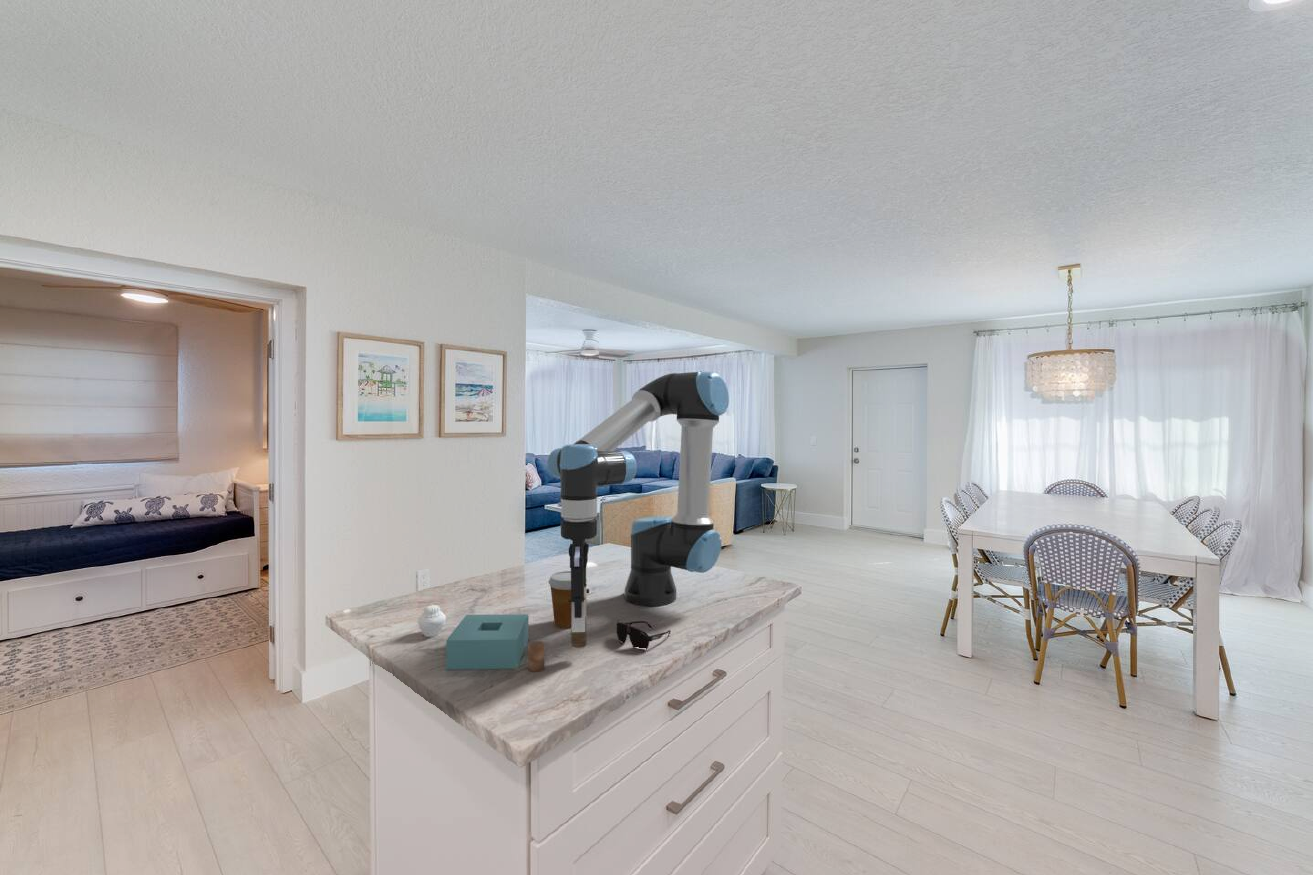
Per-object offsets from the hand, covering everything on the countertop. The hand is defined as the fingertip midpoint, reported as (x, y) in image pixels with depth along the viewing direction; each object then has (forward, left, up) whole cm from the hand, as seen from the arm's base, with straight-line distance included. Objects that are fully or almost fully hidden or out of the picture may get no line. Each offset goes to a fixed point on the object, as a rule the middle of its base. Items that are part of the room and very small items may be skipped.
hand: (579, 627), depth 111 cm
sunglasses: (-15, -11, -8) cm, 20 cm away
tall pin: (0, 0, -4) cm, 4 cm away
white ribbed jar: (+35, -15, -7) cm, 39 cm away
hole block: (+19, -4, -7) cm, 21 cm away
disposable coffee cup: (+4, -21, -7) cm, 22 cm away
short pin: (+8, +3, -7) cm, 11 cm away
